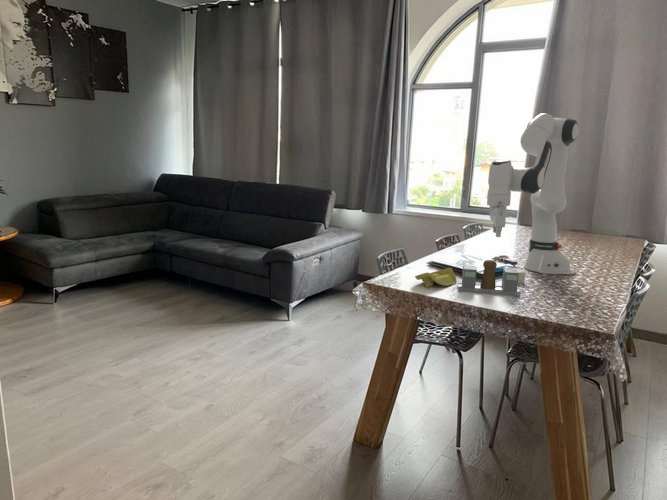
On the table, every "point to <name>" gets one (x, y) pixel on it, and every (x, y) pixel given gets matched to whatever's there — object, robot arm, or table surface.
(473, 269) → the block
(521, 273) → the beige block
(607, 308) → the table surface
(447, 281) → the plastic component
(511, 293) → the rail
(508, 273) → the block
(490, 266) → the cork
